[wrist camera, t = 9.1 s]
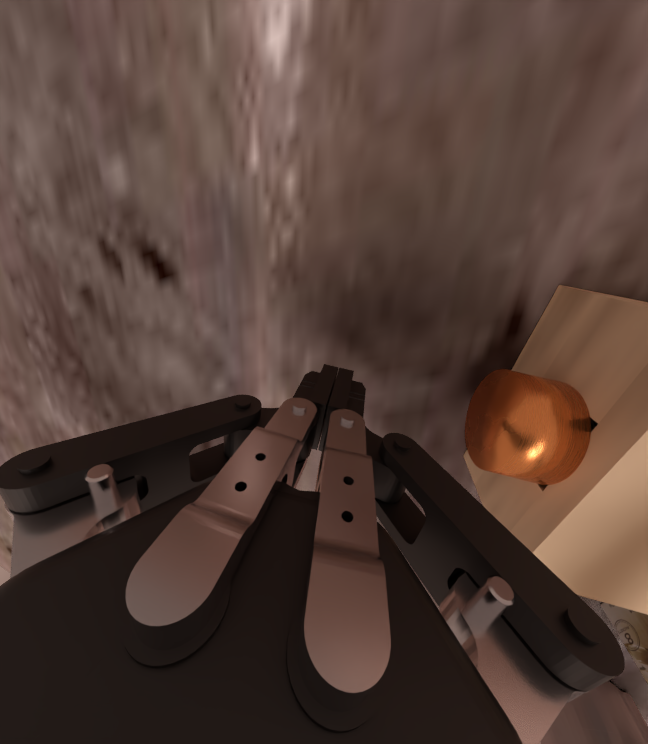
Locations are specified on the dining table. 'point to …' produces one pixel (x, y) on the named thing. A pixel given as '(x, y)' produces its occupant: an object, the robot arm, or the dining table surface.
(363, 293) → the dining table surface
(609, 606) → the coffee box
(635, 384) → the block
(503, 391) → the pin
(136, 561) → the robot arm
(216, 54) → the dining table surface
